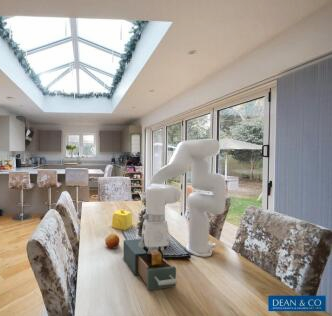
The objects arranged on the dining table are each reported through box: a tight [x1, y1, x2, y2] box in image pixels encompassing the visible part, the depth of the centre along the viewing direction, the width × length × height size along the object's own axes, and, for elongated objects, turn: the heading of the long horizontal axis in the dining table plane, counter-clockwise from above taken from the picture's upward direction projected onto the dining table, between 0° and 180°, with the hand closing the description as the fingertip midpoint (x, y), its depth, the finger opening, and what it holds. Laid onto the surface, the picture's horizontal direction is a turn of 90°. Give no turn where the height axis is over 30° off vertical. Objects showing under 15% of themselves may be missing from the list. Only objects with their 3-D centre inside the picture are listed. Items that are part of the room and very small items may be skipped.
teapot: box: [111, 209, 133, 231], centre depth 148 cm, size 20×12×12 cm, turn 150°
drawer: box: [137, 255, 178, 291], centre depth 83 cm, size 18×11×7 cm, turn 11°
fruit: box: [104, 233, 120, 249], centre depth 115 cm, size 8×8×8 cm
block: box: [151, 250, 162, 265], centre depth 84 cm, size 4×4×4 cm
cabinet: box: [123, 238, 158, 276], centre depth 96 cm, size 15×13×9 cm
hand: (154, 261), depth 84 cm, fingers closed on block, 4 cm apart
